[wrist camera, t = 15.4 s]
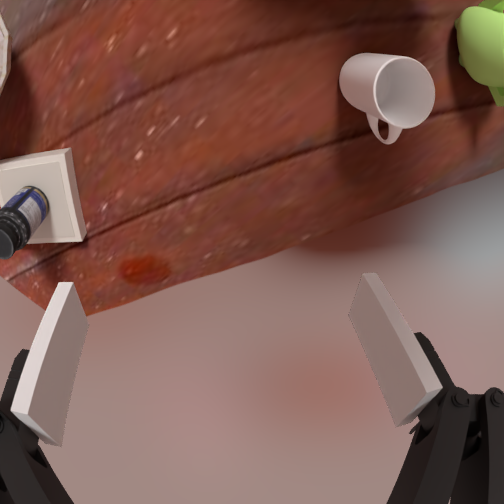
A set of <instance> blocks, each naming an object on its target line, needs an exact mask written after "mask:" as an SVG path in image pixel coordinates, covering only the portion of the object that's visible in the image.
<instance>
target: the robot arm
mask: <svg viewBox="0 0 504 504" xmlns="http://www.w3.org/2000/svg"><path fill="white" fill-rule="evenodd" d="M349 317H350V320H351V322H352V324H353V326H354V329H355V331H356V333H357V335H358V338H359V340H360V342H361V344H362V346H363V349H364V351H365V353H366V356H367V358H368V360H369V363H370V365H371V367H372V370H373V372H374V374H375V376H376V379H377V381H378V384H379V386H380V388H381V391H382V393H383V396H384V398H385V401H386V403H387V406H388V408H389V411H390V413H391V416H392V418H393V421H394V423H395V426H396V427H399V426H402V425H405V424H408V423H411V422H412V421H413V420H414V419H415V418H416V417H417V416H418V418H419V420H420V421H419V422H418V424H416V426H414V427H413V428H412V429H411V431H410V433H409V434H412V433H413V432H414V431H415V433H414V436H413V439H412V442H411V445H410V448H409V451H408V453H407V456H406V459H405V461H404V464H403V466H402V469H401V471H400V474H399V477H398V479H397V481H396V484H395V486H394V488H393V491H392V493H391V495H390V497H389V500H388V502H387V504H448V502H449V499H450V497H451V500H450V504H504V393H503V391H501V390H500V389H498V388H495V387H493V388H490V389H488V390H487V391H486V392H485V394H481V395H480V394H479V395H478V394H468V393H467V391H466V390H464V389H462V388H459V387H456V386H455V385H454V383H453V382H452V380H451V378H450V376H449V374H448V373H447V371H446V369H445V367H444V365H443V363H442V362H441V360H440V359H439V356H438V354H437V353H436V351H434V348H433V346H432V344H431V342H430V341H429V339H428V338H426V337H425V336H424V335H423V334H422V333H421V332H418V333H413V332H412V330H411V328H410V327H409V325H408V323H407V322H406V320H405V318H404V316H403V315H402V313H401V311H400V310H399V308H398V306H397V305H396V303H395V301H394V300H393V298H392V297H391V295H390V293H389V292H388V290H387V289H386V287H385V285H384V284H383V282H382V281H381V279H380V277H379V276H378V274H377V273H363V274H362V276H361V279H360V282H359V286H358V289H357V292H356V295H355V297H354V300H353V303H352V306H351V309H350V312H349ZM88 328H89V323H88V320H87V318H86V315H85V313H84V310H83V308H82V305H81V302H80V300H79V297H78V294H77V291H76V289H75V286H74V283H73V282H59V283H58V285H57V288H56V290H55V292H54V294H53V296H52V298H51V301H50V303H49V305H48V307H47V310H46V312H45V315H44V317H43V319H42V321H41V324H40V326H39V329H38V331H37V334H36V336H35V339H34V341H33V344H32V347H31V349H30V350H25V349H22V350H21V351H20V353H19V354H18V355H17V357H16V358H15V360H14V363H13V365H12V368H11V371H10V374H9V376H8V379H7V382H6V385H5V388H4V391H3V394H2V397H1V401H0V504H74V503H73V501H72V500H71V498H70V497H69V495H68V494H67V492H66V491H65V489H64V488H63V486H62V484H61V483H60V481H59V479H58V478H57V476H56V475H55V473H54V471H53V469H52V468H51V466H50V464H49V462H48V461H47V459H46V457H45V455H44V453H43V451H42V450H41V448H40V446H39V445H38V440H39V438H40V439H41V440H42V441H43V442H44V443H46V444H50V445H55V446H60V447H61V446H62V440H63V434H64V428H65V423H66V418H67V412H68V407H69V403H70V398H71V393H72V389H73V384H74V380H75V376H76V372H77V368H78V364H79V360H80V356H81V352H82V349H83V345H84V341H85V338H86V334H87V331H88Z"/></svg>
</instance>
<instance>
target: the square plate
mask: <svg viewBox="0 0 504 504" xmlns="http://www.w3.org/2000/svg"><path fill="white" fill-rule="evenodd" d="M25 186H34V187H37V188H39V189H40V190H42V191H43V192H44V194H45V195H46V197H47V199H48V203H49V211H48V214H47V216H46V218H45V219H44V220H43V222H42V223H41V224H40V226H39V227H38V229H37V230H36V231H35V233H34V234H33V235H32V237H31V238H30V240H29V241H28V242H27V244H34V243H56V242H80V241H83V239H84V237H85V235H86V233H87V231H86V227H85V223H84V218H83V213H82V209H81V204H80V199H79V194H78V188H77V183H76V177H75V171H74V165H73V158H72V151H71V148H67V149H60V150H53V151H47V152H41V153H35V154H29V155H24V156H18V157H13V158H8V159H3V160H0V205H1V208H2V207H3V206H4V205H5V204H6V203H7V202H8V201H9V200H10V199H11V198H12V197H13V196H14V195H15V194H16V193H17V192H18V191H19V190H20V189H21V188H23V187H25Z"/></svg>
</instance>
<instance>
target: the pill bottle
mask: <svg viewBox="0 0 504 504" xmlns="http://www.w3.org/2000/svg"><path fill="white" fill-rule="evenodd" d="M48 211H49V203H48V199H47V197H46V195H45V194H44V192H43V191H42V190H40V189H39V188H37V187H34V186H25V187H23V188H21V189H20V190H19V191H18V192H17V193H16V194H15V195H14V196H13V197H12V198H11V199H10V200H9V201H8V202H7V203H6V204H5V205H4V206H3V207H2V208H1V209H0V259H9V258H10V257H11V256H12V255H13V254H14V253H15V251H16V250H20V249H22V248H23V247H24V246H25V245H26V244H27V242H28V241H29V240H30V238H31V237H32V235H33V234H34V233H35V231H36V230H37V229H38V227H39V226H40V224H41V223H42V222H43V220H44V219H45V218H46V216H47V214H48Z"/></svg>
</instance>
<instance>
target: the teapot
mask: <svg viewBox="0 0 504 504" xmlns="http://www.w3.org/2000/svg"><path fill="white" fill-rule="evenodd" d="M503 10H504V0H484V1H483V2H481V3H480V4H478V7H469V8H467V9H465V10H464V11H463V12H462V14H461V15H460V17H459V18H458V19H456V20H455V22H454V25H455V28H456V30H457V43H458V49H459V53H460V55H459V63H460V65H461V66H463V67H465V69H466V71H467V72H468V73H469V75H470V76H471V77H472V78H473V79H474V80H475V81H477V82H478V83H480V84H483V85H487V86H488V87H489V90H490V92H491V94H492V96H493V98H494V100H495V103H496V105H497V106H504V89H503V88H504V14H503Z"/></svg>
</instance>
